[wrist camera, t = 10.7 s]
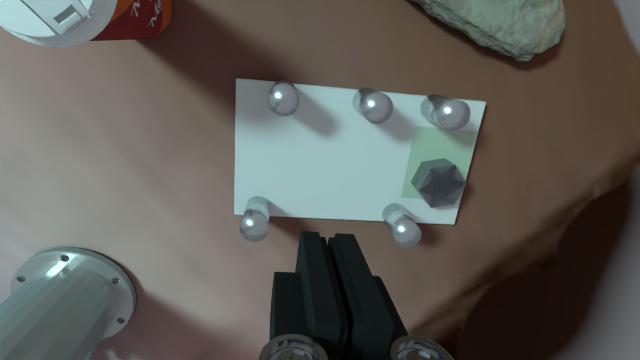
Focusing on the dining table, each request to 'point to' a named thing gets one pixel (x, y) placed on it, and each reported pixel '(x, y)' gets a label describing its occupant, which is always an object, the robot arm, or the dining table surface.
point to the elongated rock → (504, 23)
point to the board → (341, 154)
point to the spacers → (375, 111)
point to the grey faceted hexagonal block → (438, 182)
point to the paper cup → (83, 20)
